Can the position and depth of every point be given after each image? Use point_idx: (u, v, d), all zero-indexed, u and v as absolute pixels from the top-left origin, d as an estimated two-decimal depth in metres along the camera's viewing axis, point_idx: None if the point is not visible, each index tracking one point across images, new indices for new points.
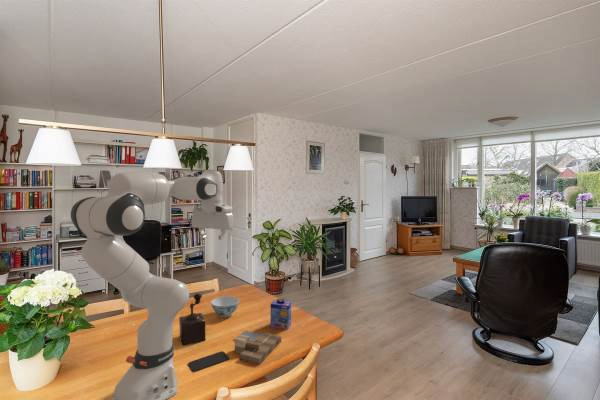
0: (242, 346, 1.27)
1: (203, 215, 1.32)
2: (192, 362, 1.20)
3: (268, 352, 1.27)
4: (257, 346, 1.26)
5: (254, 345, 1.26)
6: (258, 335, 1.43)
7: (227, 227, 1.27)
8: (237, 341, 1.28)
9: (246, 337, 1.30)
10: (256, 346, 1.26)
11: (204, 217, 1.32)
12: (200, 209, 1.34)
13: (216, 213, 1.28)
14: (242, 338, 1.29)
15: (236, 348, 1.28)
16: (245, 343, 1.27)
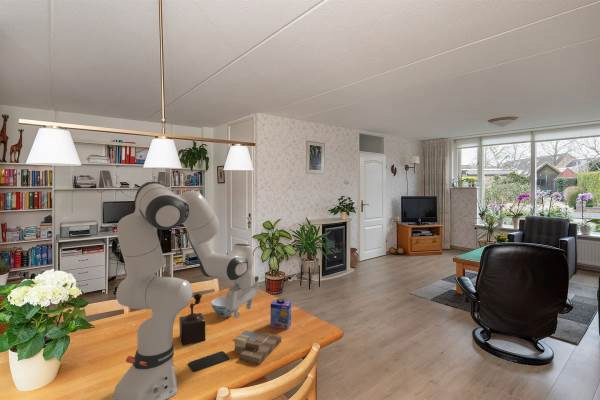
0: (242, 346, 1.27)
1: (241, 292, 1.25)
2: (192, 362, 1.20)
3: (268, 352, 1.27)
4: (257, 346, 1.26)
5: (254, 345, 1.26)
6: (258, 335, 1.43)
7: (257, 292, 1.37)
8: (237, 341, 1.28)
9: (246, 337, 1.30)
10: (256, 346, 1.26)
11: (241, 294, 1.25)
12: (235, 288, 1.23)
13: (253, 284, 1.32)
14: (242, 338, 1.29)
15: (236, 348, 1.28)
16: (245, 343, 1.27)
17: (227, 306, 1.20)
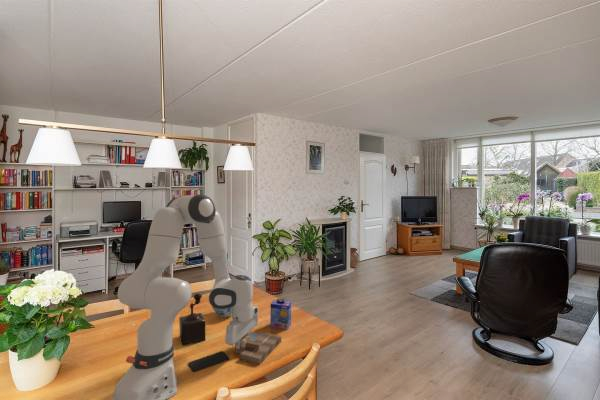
0: (242, 346, 1.27)
1: (241, 325, 1.26)
2: (192, 362, 1.20)
3: (268, 352, 1.27)
4: (257, 346, 1.26)
5: (254, 345, 1.26)
6: (258, 335, 1.43)
7: (256, 323, 1.37)
8: None
9: (246, 337, 1.30)
10: (256, 346, 1.26)
11: (241, 327, 1.26)
12: (235, 322, 1.23)
13: (253, 316, 1.32)
14: (242, 338, 1.29)
15: None
16: (245, 343, 1.27)
17: (226, 340, 1.20)
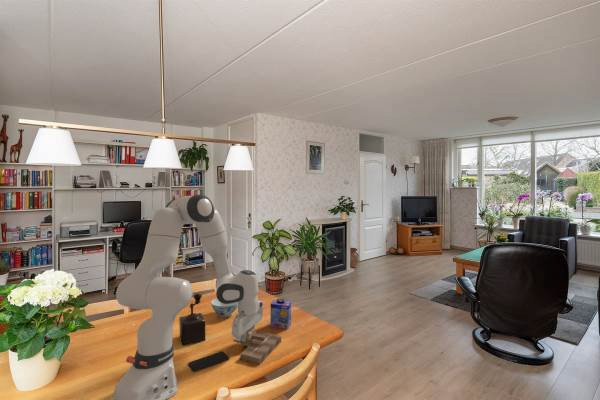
0: (248, 338, 1.31)
1: (247, 319, 1.30)
2: (192, 362, 1.20)
3: (268, 352, 1.27)
4: (262, 339, 1.30)
5: (259, 338, 1.30)
6: None
7: (261, 317, 1.41)
8: None
9: (252, 330, 1.34)
10: (261, 339, 1.30)
11: (247, 320, 1.30)
12: (241, 315, 1.27)
13: (258, 309, 1.36)
14: (248, 331, 1.33)
15: (242, 341, 1.32)
16: (251, 336, 1.31)
17: (233, 333, 1.25)
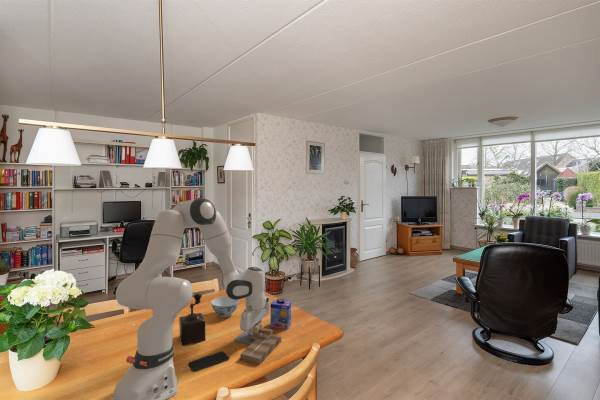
0: (255, 332, 1.37)
1: (254, 313, 1.35)
2: (192, 362, 1.20)
3: (268, 352, 1.27)
4: (269, 332, 1.36)
5: (266, 331, 1.36)
6: None
7: (267, 312, 1.47)
8: None
9: (259, 324, 1.40)
10: (268, 332, 1.36)
11: (254, 315, 1.36)
12: (249, 309, 1.33)
13: None
14: (255, 325, 1.39)
15: (249, 334, 1.38)
16: (258, 330, 1.37)
17: (241, 327, 1.30)
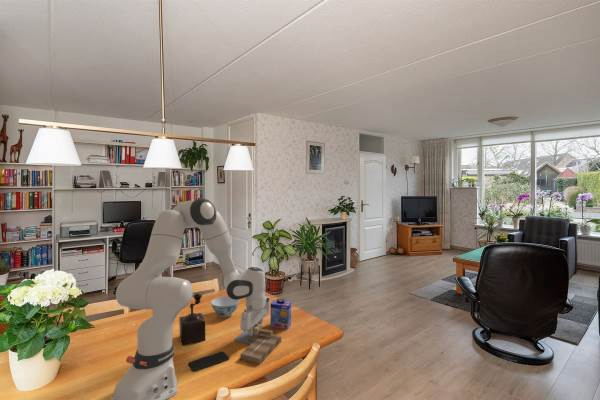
0: (256, 333, 1.37)
1: (254, 313, 1.36)
2: (192, 362, 1.20)
3: (268, 352, 1.27)
4: (269, 333, 1.36)
5: (266, 332, 1.36)
6: None
7: (268, 312, 1.47)
8: None
9: (259, 325, 1.40)
10: (268, 333, 1.36)
11: (254, 315, 1.36)
12: (249, 309, 1.34)
13: (265, 304, 1.42)
14: (255, 326, 1.39)
15: None
16: (258, 331, 1.37)
17: (242, 327, 1.31)
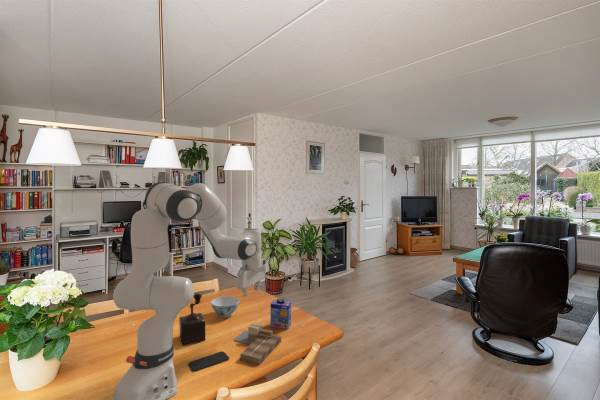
0: (256, 333, 1.37)
1: (250, 273, 1.35)
2: (192, 362, 1.20)
3: (268, 352, 1.27)
4: (269, 333, 1.36)
5: (266, 332, 1.36)
6: None
7: (264, 276, 1.46)
8: (251, 329, 1.38)
9: (259, 325, 1.40)
10: (268, 333, 1.36)
11: (250, 275, 1.35)
12: (245, 268, 1.33)
13: (261, 266, 1.41)
14: (255, 326, 1.39)
15: (250, 335, 1.39)
16: (258, 331, 1.37)
17: (237, 285, 1.30)
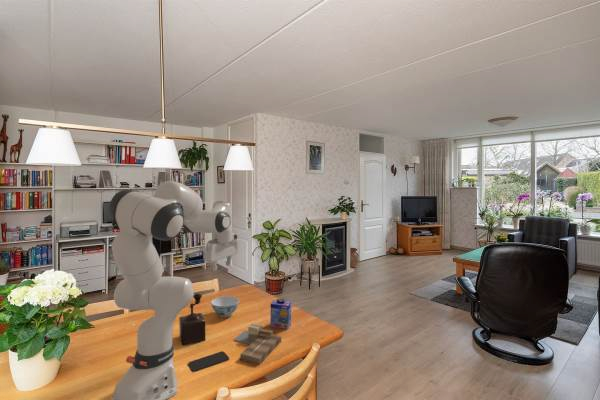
0: (256, 333, 1.37)
1: (220, 246, 1.32)
2: (192, 362, 1.20)
3: (268, 352, 1.27)
4: (269, 333, 1.36)
5: (266, 332, 1.36)
6: None
7: (236, 251, 1.44)
8: (251, 329, 1.38)
9: (259, 325, 1.40)
10: (268, 333, 1.36)
11: (220, 248, 1.32)
12: (214, 242, 1.30)
13: (232, 241, 1.39)
14: (255, 326, 1.39)
15: (250, 335, 1.39)
16: (258, 331, 1.37)
17: (205, 258, 1.27)
